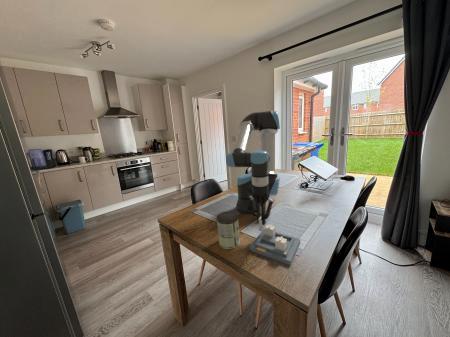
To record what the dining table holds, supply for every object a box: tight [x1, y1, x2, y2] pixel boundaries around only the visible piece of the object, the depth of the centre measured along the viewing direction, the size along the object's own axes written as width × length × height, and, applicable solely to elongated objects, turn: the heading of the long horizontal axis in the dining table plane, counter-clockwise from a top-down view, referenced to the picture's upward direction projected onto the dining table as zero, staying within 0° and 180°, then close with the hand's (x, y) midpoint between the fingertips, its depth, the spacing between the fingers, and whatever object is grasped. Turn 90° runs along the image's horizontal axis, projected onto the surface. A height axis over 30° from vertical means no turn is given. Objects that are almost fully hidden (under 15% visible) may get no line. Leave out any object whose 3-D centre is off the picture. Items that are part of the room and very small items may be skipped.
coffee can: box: [215, 211, 241, 250], centre depth 87 cm, size 10×10×14 cm
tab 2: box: [275, 236, 287, 252], centre depth 77 cm, size 4×3×6 cm
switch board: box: [249, 228, 301, 266], centre depth 83 cm, size 18×16×3 cm
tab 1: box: [264, 223, 276, 238], centre depth 87 cm, size 4×3×6 cm
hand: (261, 229), depth 89 cm, fingers closed
